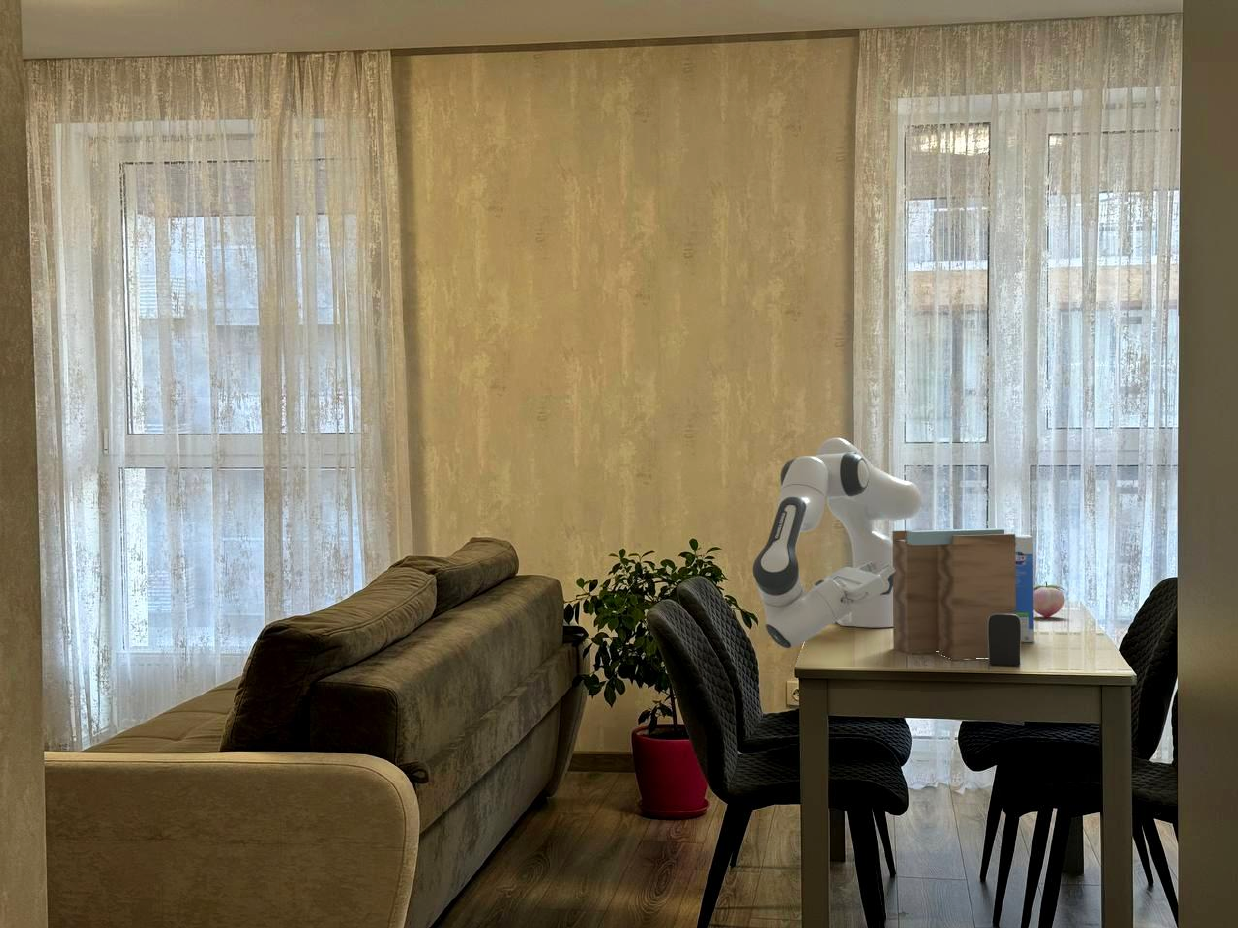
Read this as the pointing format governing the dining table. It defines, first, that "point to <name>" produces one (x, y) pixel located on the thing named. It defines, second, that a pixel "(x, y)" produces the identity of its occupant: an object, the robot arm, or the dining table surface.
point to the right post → (973, 591)
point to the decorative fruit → (1047, 599)
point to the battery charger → (1004, 639)
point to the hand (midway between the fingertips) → (884, 565)
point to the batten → (945, 535)
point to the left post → (915, 595)
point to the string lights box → (1024, 585)
